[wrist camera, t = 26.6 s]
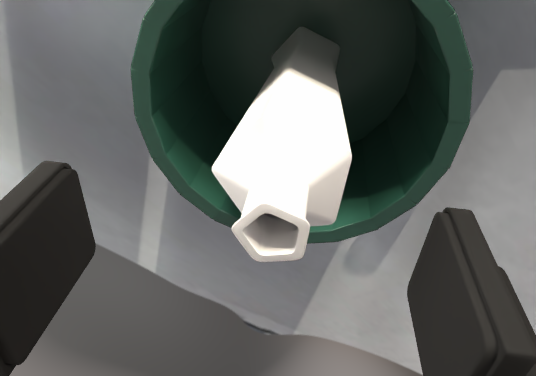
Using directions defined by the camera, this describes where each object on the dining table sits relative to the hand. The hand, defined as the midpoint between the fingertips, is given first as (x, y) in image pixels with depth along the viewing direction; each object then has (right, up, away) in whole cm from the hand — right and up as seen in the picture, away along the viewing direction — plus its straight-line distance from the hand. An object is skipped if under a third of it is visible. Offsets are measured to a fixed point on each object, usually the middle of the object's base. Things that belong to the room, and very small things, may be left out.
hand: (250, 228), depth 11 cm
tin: (+3, +9, +13) cm, 16 cm away
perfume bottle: (+3, +9, +13) cm, 15 cm away
